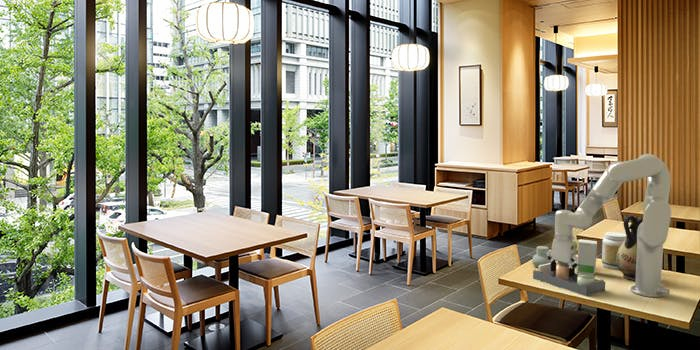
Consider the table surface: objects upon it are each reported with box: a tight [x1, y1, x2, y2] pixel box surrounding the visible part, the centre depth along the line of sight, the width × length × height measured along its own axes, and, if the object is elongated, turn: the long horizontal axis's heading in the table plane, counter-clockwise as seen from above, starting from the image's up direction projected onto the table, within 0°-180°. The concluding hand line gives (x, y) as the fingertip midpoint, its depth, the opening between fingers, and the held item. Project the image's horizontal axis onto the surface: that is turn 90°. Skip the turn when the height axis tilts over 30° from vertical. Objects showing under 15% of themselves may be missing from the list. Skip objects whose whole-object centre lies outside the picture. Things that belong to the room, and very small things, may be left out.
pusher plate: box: [537, 263, 553, 275], centre depth 239 cm, size 5×10×6 cm, turn 120°
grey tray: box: [532, 269, 606, 297], centre depth 227 cm, size 28×13×5 cm, turn 30°
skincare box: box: [576, 239, 598, 276], centre depth 244 cm, size 8×7×16 cm
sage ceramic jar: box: [577, 273, 596, 286], centre depth 220 cm, size 7×7×7 cm
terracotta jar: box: [556, 261, 570, 280], centre depth 230 cm, size 6×6×9 cm
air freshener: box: [531, 245, 550, 267], centre depth 255 cm, size 11×8×10 cm
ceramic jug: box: [616, 214, 643, 281], centre depth 234 cm, size 17×15×30 cm
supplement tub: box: [601, 231, 627, 271], centre depth 252 cm, size 12×12×17 cm
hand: (562, 273), depth 230 cm, fingers open, 9 cm apart
